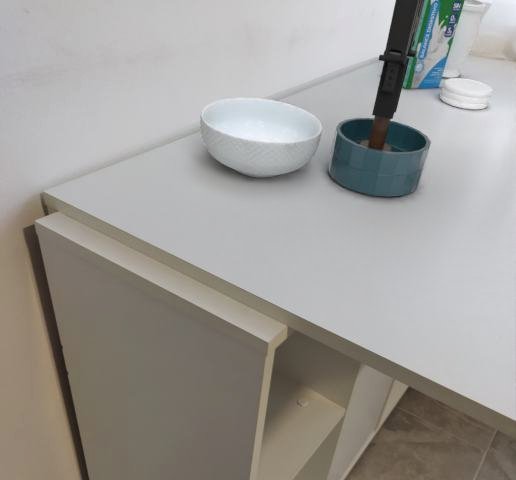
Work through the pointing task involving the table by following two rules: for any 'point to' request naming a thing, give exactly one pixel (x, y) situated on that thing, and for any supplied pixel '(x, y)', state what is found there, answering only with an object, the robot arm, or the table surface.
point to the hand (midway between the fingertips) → (384, 112)
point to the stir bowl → (378, 158)
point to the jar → (464, 37)
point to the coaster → (465, 93)
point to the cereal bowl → (259, 135)
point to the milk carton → (432, 43)
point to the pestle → (380, 129)
